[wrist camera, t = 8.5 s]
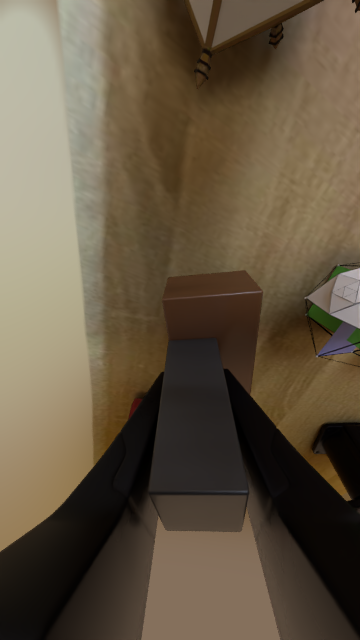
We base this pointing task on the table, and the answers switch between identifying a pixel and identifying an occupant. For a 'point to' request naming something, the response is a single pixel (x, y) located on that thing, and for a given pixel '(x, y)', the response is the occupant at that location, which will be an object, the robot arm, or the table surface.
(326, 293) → the geometric puzzle
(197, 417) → the walnut pusher
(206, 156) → the table surface
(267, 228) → the table surface
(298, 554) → the robot arm
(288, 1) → the game die
